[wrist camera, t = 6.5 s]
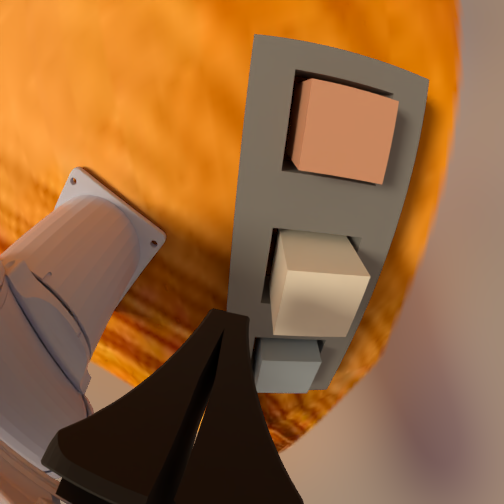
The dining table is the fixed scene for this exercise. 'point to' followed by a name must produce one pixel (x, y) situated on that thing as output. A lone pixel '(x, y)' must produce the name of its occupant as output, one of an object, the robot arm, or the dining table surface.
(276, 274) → the white key
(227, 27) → the dining table surface
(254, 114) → the key panel
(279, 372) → the slate key
